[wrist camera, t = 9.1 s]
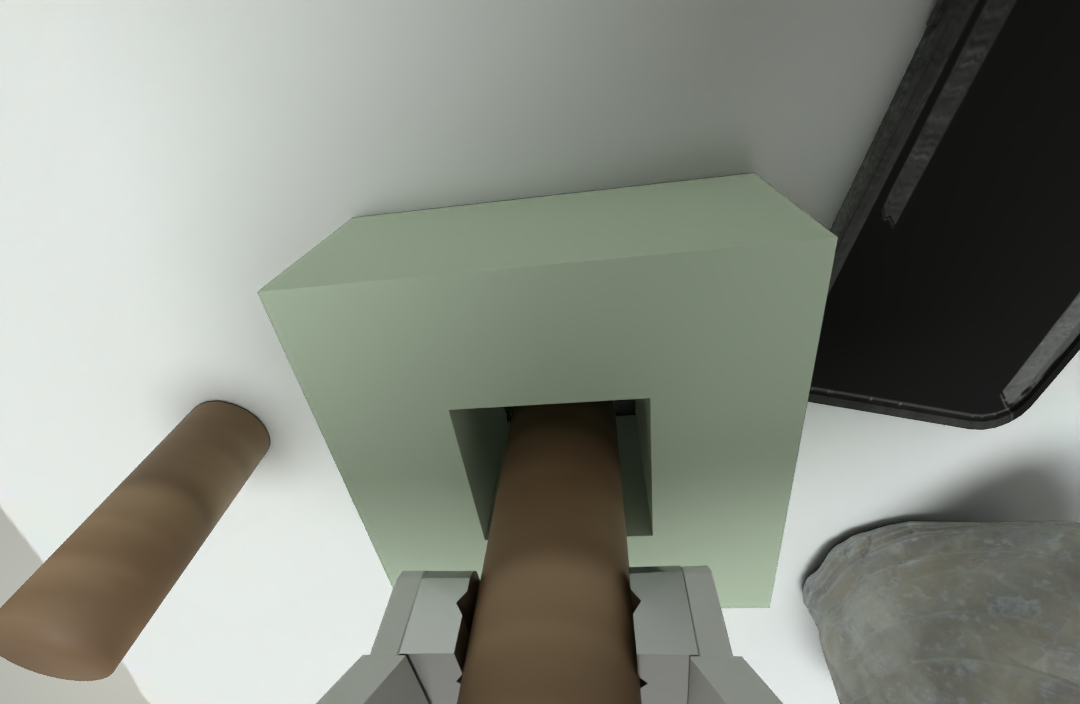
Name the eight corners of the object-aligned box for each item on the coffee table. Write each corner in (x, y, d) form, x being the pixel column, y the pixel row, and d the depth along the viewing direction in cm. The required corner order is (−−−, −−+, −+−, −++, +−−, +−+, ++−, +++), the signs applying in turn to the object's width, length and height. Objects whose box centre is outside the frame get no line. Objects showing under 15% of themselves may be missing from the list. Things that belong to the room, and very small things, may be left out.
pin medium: (172, 408, 19) (-50, 623, 12) (243, 396, 18) (56, 612, 11) (216, 465, 20) (44, 684, 13) (284, 455, 20) (140, 676, 13)
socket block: (352, 217, 14) (257, 292, 10) (754, 173, 13) (837, 237, 9) (440, 489, 20) (402, 610, 16) (726, 478, 19) (769, 607, 14)
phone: (1617, -274, 8) (1006, 436, 16) (1505, -241, 9) (982, 413, 17) (1137, -373, 8) (762, 394, 16) (1076, -328, 9) (752, 374, 17)
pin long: (504, 374, 14) (307, 1213, 4) (613, 367, 14) (700, 1275, 4) (520, 455, 16) (407, 1208, 6) (618, 450, 15) (690, 1252, 5)
